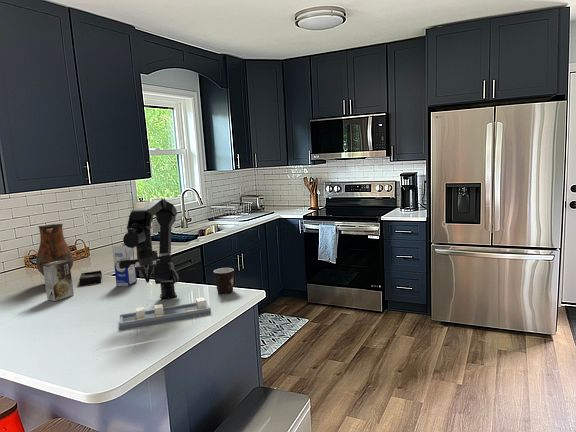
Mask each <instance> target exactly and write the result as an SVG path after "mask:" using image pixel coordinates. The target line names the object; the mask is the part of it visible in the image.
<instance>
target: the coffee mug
mask: <svg viewBox="0 0 576 432" xmlns="http://www.w3.org/2000/svg"><path fill="white" fill-rule="evenodd" d="M234 270H235V269H234V268H231V267H221V268H217V269H214V270H213V275H214V281H215V284H216V285H215V286H216V289H217V294H218V295H222V294H224V295H229V294H232V293H234V274H235V273H234V272H235V271H234Z"/></svg>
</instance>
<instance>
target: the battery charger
mask: <svg viewBox="0 0 576 432" xmlns="http://www.w3.org/2000/svg"><path fill="white" fill-rule="evenodd" d="M102 278H103V274H102V270H94V271H87V272H81V274H80V277H79V286H80V287H82V286H89V285H95V284H101V283H102V280H103V279H102Z"/></svg>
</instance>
